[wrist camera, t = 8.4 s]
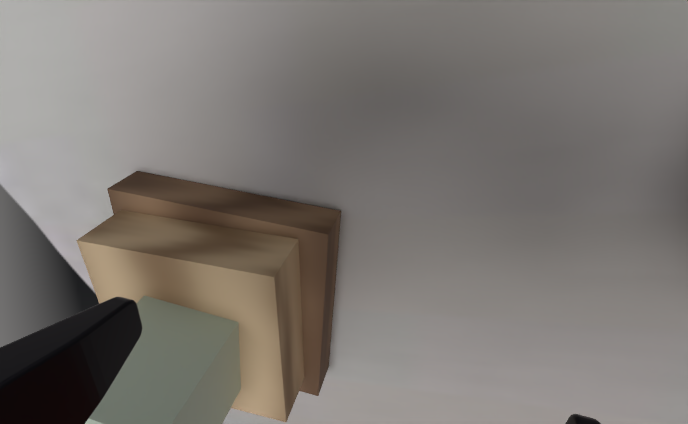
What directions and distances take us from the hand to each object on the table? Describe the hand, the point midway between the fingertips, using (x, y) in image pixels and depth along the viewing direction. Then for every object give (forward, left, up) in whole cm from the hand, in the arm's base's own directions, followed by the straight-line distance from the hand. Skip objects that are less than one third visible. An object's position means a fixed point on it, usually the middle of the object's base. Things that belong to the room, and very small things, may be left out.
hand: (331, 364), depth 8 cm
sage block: (+9, +10, -7) cm, 15 cm away
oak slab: (+9, +10, -10) cm, 17 cm away
